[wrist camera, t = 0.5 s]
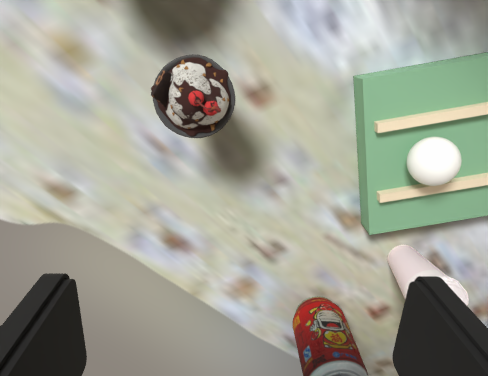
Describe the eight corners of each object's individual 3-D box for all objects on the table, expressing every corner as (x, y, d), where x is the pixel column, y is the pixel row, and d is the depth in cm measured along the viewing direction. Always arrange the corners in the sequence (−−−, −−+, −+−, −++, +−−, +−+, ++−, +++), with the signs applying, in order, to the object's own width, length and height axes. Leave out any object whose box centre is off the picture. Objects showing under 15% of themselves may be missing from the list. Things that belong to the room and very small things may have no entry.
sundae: (245, 93, 40) (254, 123, 26) (194, 125, 41) (176, 171, 27) (211, 36, 38) (201, 37, 24) (158, 73, 39) (119, 94, 25)
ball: (398, 136, 40) (420, 149, 35) (445, 127, 39) (474, 140, 35) (398, 179, 41) (420, 197, 37) (443, 171, 41) (470, 188, 37)
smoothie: (429, 267, 50) (500, 349, 37) (383, 283, 50) (436, 369, 37) (420, 228, 47) (492, 301, 34) (371, 245, 48) (424, 322, 35)
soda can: (342, 290, 51) (374, 365, 39) (339, 331, 53) (368, 411, 42) (290, 293, 50) (308, 368, 39) (290, 333, 53) (306, 414, 42)
